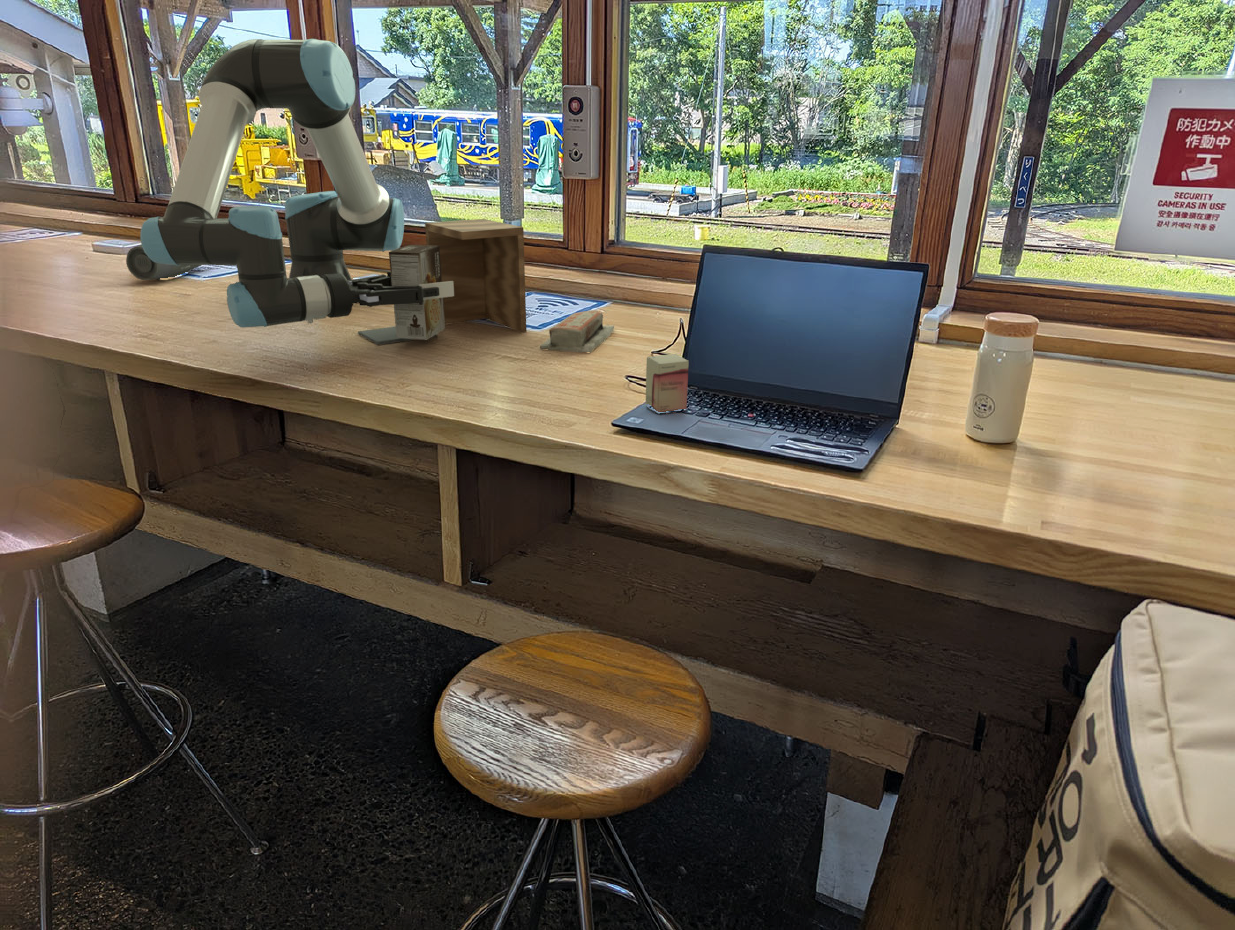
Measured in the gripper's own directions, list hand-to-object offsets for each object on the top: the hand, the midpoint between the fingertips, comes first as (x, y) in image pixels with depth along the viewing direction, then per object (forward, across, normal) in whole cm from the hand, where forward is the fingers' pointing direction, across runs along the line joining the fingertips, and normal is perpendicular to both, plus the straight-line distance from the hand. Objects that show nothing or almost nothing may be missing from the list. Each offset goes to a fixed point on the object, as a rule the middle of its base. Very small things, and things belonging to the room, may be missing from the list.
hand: (439, 283), depth 164 cm
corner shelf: (+10, -4, -10) cm, 15 cm away
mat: (-6, -7, -10) cm, 14 cm away
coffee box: (-5, 0, -9) cm, 10 cm away
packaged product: (+21, +16, -11) cm, 29 cm away
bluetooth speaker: (-29, -98, -11) cm, 103 cm away
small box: (+8, +58, -11) cm, 59 cm away
